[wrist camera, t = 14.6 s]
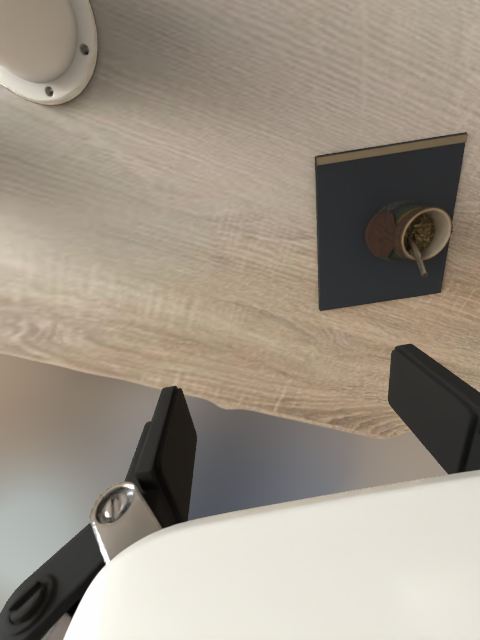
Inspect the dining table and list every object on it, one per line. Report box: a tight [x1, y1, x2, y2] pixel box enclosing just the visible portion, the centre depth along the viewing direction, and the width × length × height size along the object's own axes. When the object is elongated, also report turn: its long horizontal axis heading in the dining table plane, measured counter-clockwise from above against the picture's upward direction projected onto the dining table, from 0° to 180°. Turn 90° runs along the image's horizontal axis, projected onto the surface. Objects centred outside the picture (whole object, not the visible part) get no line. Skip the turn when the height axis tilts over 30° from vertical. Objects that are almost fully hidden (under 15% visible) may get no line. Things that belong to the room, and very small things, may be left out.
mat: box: [315, 132, 468, 311], centre depth 35 cm, size 20×18×1 cm
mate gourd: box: [365, 200, 453, 276], centre depth 30 cm, size 7×8×10 cm
